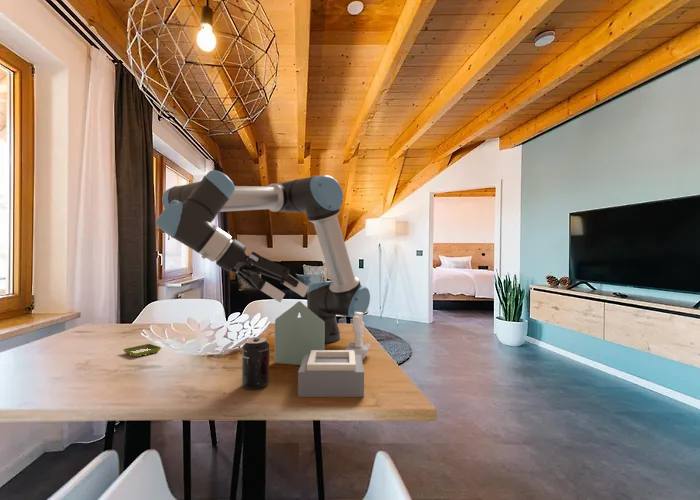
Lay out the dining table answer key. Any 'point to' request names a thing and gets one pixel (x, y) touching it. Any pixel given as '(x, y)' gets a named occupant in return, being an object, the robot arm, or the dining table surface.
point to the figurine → (358, 336)
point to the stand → (331, 374)
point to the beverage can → (255, 363)
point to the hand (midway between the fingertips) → (293, 295)
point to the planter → (298, 334)
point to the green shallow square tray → (149, 346)
